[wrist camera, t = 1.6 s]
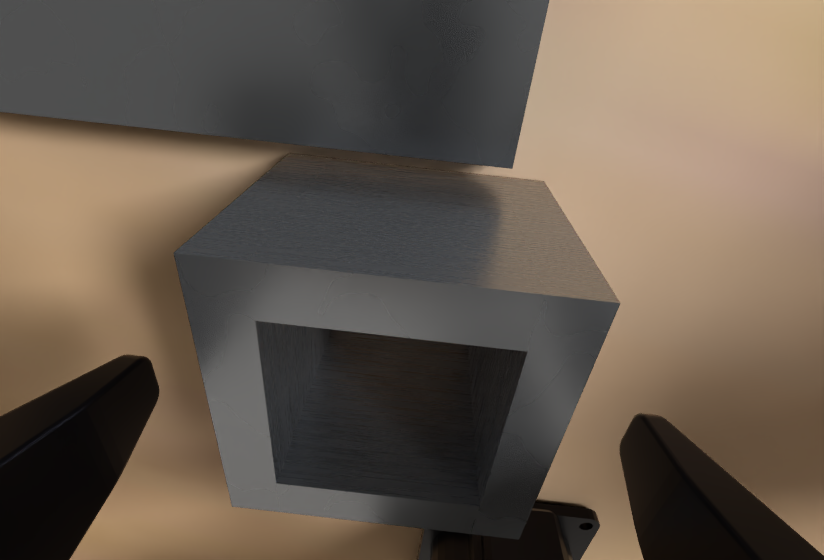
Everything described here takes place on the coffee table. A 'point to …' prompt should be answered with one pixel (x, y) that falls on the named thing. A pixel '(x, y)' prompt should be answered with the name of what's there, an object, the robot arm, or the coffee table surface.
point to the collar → (392, 341)
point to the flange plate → (283, 70)
